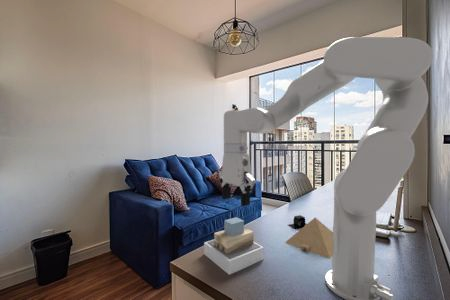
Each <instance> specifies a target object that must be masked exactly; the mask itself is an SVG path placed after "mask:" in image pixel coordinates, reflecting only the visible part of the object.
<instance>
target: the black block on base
mask: <svg viewBox="0 0 450 300" xmlns="http://www.w3.org/2000/svg"><path fill="white" fill-rule="evenodd" d="M307 224H308V223H306V217H305V216H303V215H300V214H299V215H294V217H293V223H290V224H287V226H288V227H290V228H291V229H293V230H298V229H299V230H301V229H302V228H303V227H304V226H305V225H307Z"/></svg>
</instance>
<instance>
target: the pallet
mask: <svg viewBox="0 0 450 300" xmlns="http://www.w3.org/2000/svg"><path fill="white" fill-rule="evenodd" d="M213 235H214V237H213V238H214V239H213V240H214V245H215V246H217V247H218V246H219V249H221V250H224V252H225V253H226V254H227V253H230V252H233V251H235V250H238V249H241V248H243V247H246V246H248V245H251V244H253V242H254V231H252V230H250V229H248V228H246V227H245V226H244V233H242V234H239V235H235V236H232V237H231V236H230V235H228V234H226V233H225V232H224V230H219V231H217V232H214V234H213Z"/></svg>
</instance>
